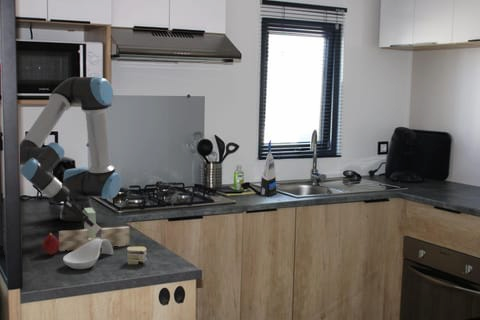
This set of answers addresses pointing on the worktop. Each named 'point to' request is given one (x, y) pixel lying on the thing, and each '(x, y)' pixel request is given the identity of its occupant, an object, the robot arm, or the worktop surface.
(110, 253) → the spoon rest
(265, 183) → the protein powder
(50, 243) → the onion
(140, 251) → the pale yellow layered block
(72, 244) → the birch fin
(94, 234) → the notched piece
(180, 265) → the worktop surface
